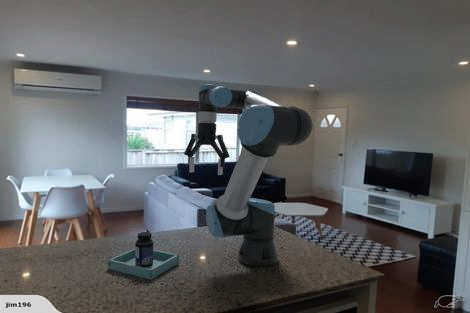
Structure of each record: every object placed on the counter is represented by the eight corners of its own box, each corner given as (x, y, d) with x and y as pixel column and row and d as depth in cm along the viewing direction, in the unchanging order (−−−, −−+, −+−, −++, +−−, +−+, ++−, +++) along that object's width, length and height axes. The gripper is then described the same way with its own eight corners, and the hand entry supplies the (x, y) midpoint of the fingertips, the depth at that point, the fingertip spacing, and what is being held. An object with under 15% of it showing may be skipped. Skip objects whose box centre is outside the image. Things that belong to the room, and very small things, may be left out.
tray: (178, 263, 126) (178, 254, 125) (150, 279, 111) (150, 270, 111) (139, 254, 133) (139, 246, 133) (108, 268, 118) (108, 260, 118)
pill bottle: (155, 261, 125) (156, 231, 124) (149, 268, 119) (150, 236, 118) (138, 260, 125) (139, 230, 125) (132, 266, 119) (132, 235, 118)
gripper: (238, 123, 141) (236, 175, 143) (186, 122, 151) (185, 170, 153) (230, 122, 134) (228, 176, 136) (176, 121, 144) (175, 171, 146)
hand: (205, 173), depth 144 cm, fingers open, 13 cm apart
